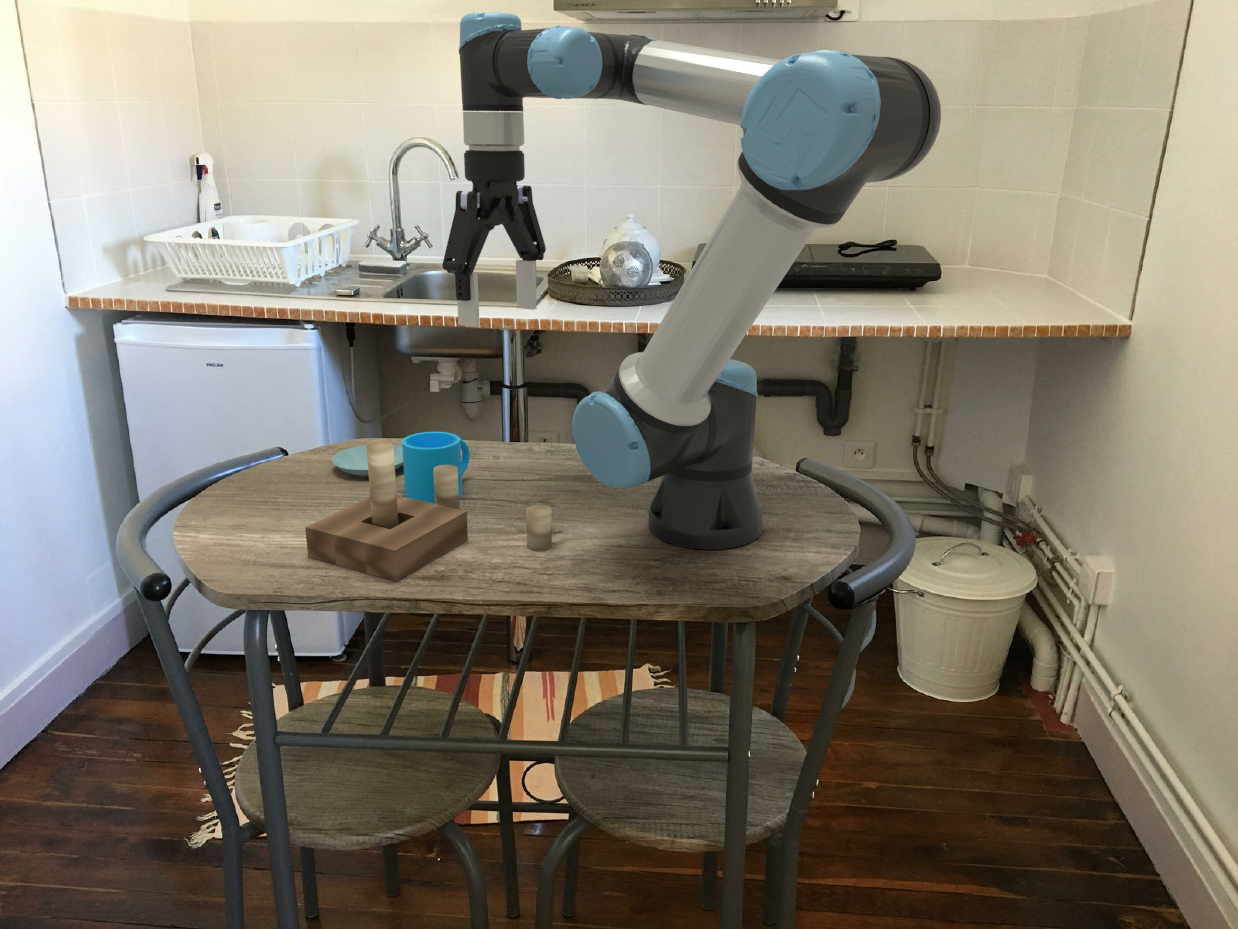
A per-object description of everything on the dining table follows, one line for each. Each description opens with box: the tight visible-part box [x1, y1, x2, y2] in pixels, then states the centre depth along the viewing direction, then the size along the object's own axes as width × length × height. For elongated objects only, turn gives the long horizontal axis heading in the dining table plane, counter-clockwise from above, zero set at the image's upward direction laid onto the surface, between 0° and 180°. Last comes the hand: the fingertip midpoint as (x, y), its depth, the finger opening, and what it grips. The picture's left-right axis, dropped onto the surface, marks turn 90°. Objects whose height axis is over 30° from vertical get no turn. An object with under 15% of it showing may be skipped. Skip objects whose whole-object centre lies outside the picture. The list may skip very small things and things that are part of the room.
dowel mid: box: [433, 465, 460, 510], centre depth 136 cm, size 3×3×7 cm
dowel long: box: [365, 438, 399, 529], centre depth 125 cm, size 3×3×14 cm
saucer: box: [331, 444, 404, 478], centre depth 155 cm, size 12×12×2 cm
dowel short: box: [525, 504, 553, 552], centre depth 128 cm, size 3×3×5 cm
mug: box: [401, 431, 471, 504], centre depth 146 cm, size 12×8×8 cm
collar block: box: [304, 494, 469, 582], centre depth 127 cm, size 14×14×4 cm
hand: (499, 316), depth 133 cm, fingers open, 13 cm apart
